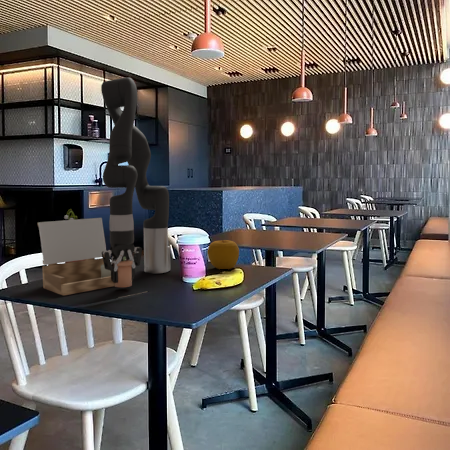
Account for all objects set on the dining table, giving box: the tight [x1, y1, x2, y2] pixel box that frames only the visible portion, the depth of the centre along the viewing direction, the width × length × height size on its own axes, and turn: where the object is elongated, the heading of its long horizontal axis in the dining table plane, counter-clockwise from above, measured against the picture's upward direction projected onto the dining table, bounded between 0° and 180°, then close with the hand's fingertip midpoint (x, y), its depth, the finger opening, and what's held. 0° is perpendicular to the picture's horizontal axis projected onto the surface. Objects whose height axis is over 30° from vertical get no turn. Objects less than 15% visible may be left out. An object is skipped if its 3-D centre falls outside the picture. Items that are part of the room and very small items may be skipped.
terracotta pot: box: [113, 257, 133, 288], centre depth 158 cm, size 6×6×10 cm
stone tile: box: [116, 291, 148, 299], centre depth 159 cm, size 11×11×1 cm
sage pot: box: [101, 265, 111, 278], centre depth 169 cm, size 5×5×6 cm
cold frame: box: [41, 257, 115, 296], centre depth 166 cm, size 24×18×18 cm
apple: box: [207, 239, 240, 270], centre depth 198 cm, size 13×13×11 cm
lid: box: [37, 217, 107, 266], centre depth 170 cm, size 23×14×1 cm
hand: (123, 280), depth 159 cm, fingers closed on terracotta pot, 5 cm apart
